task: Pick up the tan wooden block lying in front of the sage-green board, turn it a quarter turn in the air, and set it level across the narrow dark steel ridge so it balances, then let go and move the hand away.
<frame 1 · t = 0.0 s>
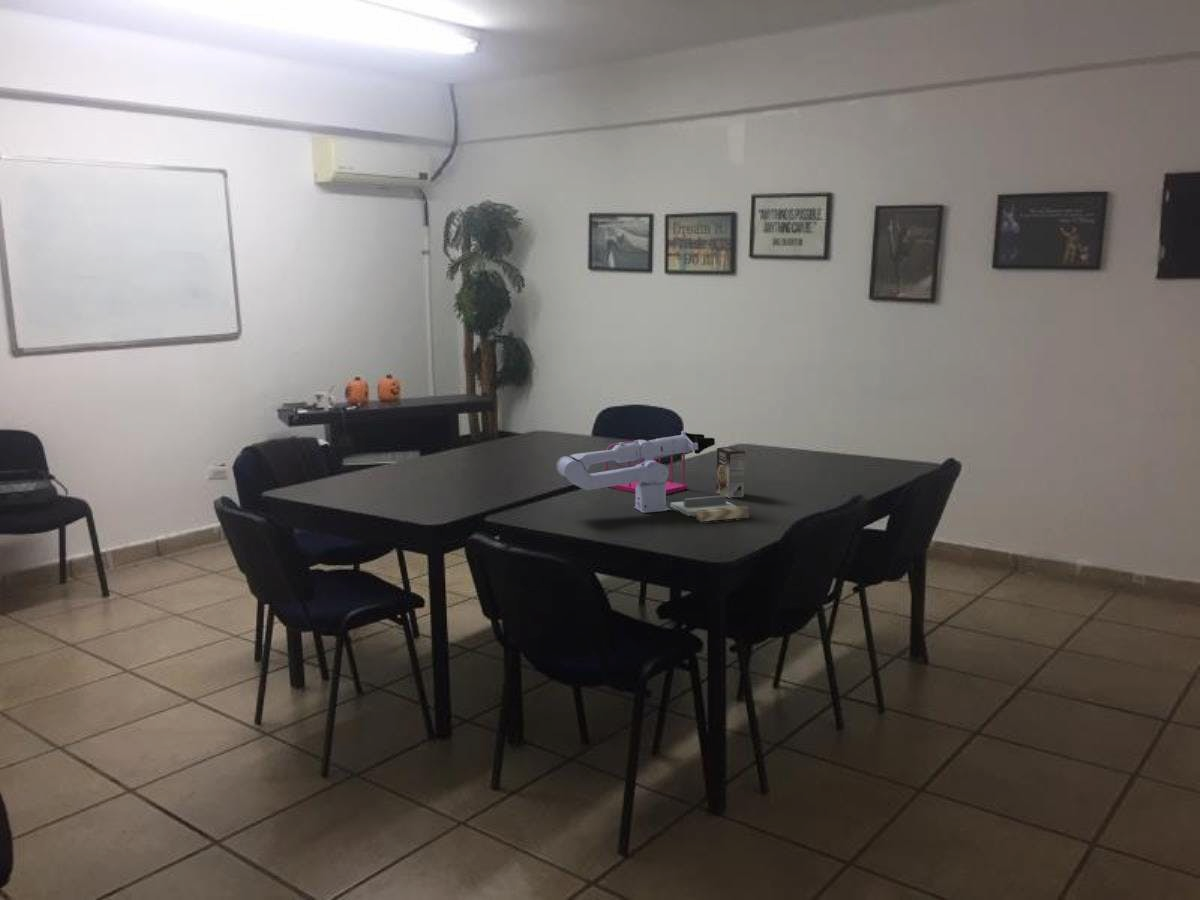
hand: (709, 439, 313), 22 cm above the table, tool horizontal, fingers open, 7 cm apart
ridge stand: (704, 509, 310), on the table
coffee box: (729, 495, 330), on the table
tan wooden block: (722, 520, 298), on the table
file sorter: (645, 489, 342), on the table
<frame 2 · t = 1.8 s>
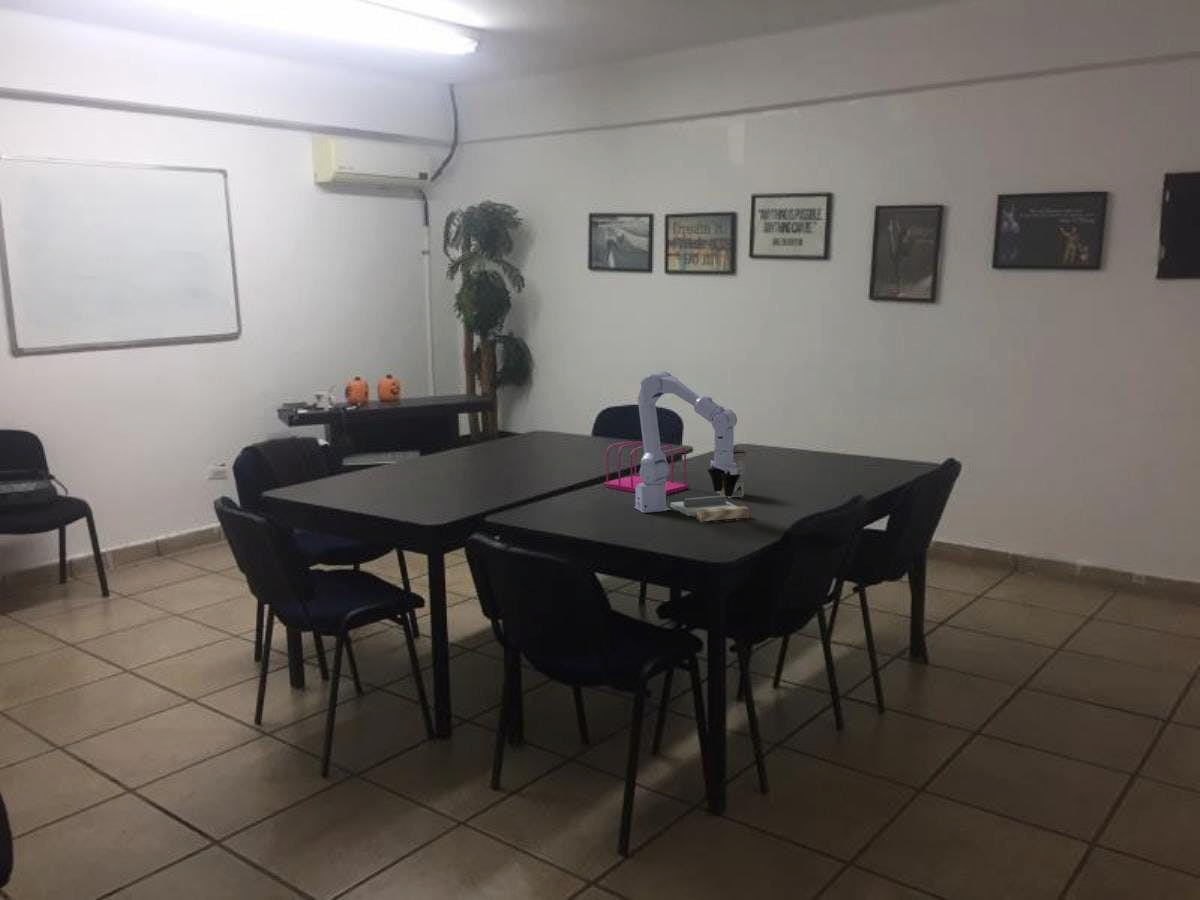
hand: (723, 493, 296), 8 cm above the table, tool pointing down, fingers open, 7 cm apart
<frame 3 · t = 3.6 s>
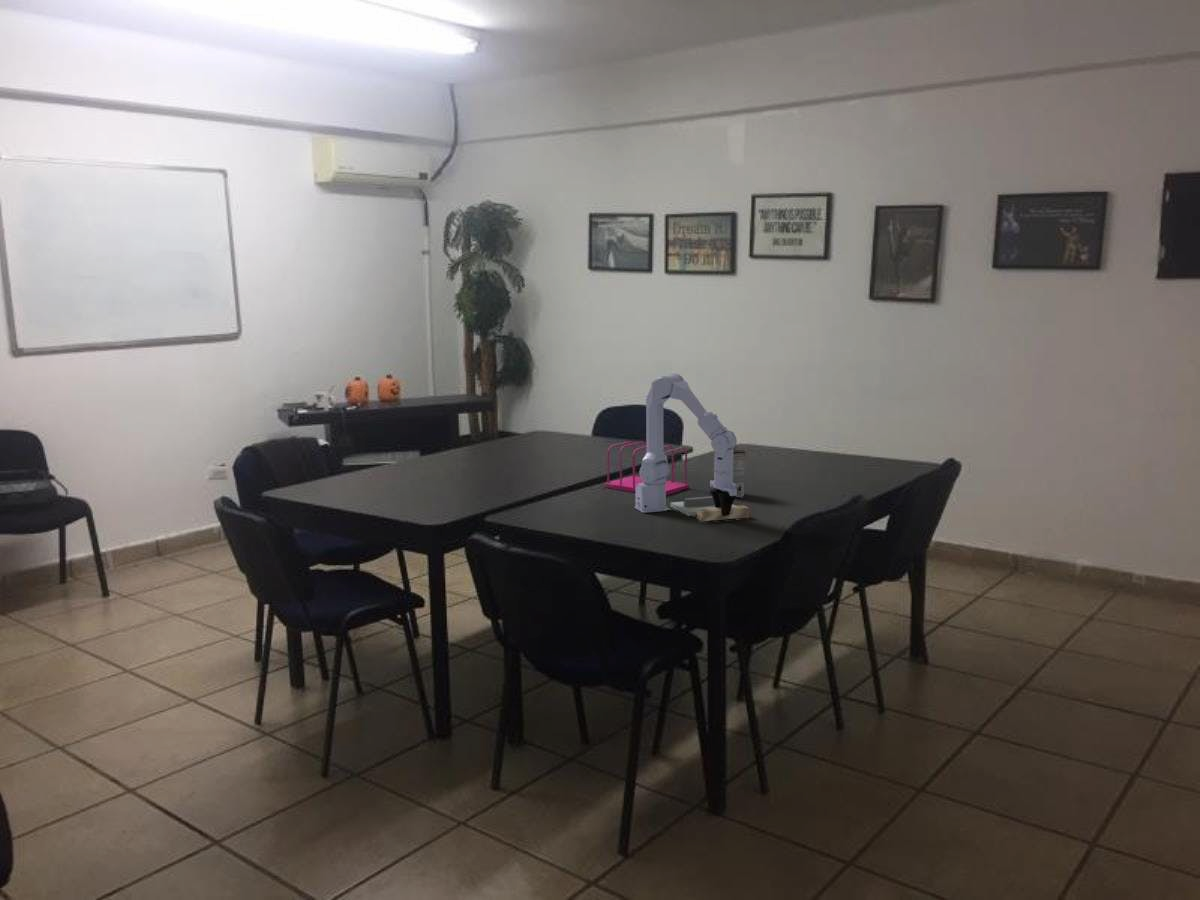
hand: (722, 513, 297), 2 cm above the table, tool pointing down, fingers closed on tan wooden block, 3 cm apart
tan wooden block: (722, 519, 298), on the table, touching gripper
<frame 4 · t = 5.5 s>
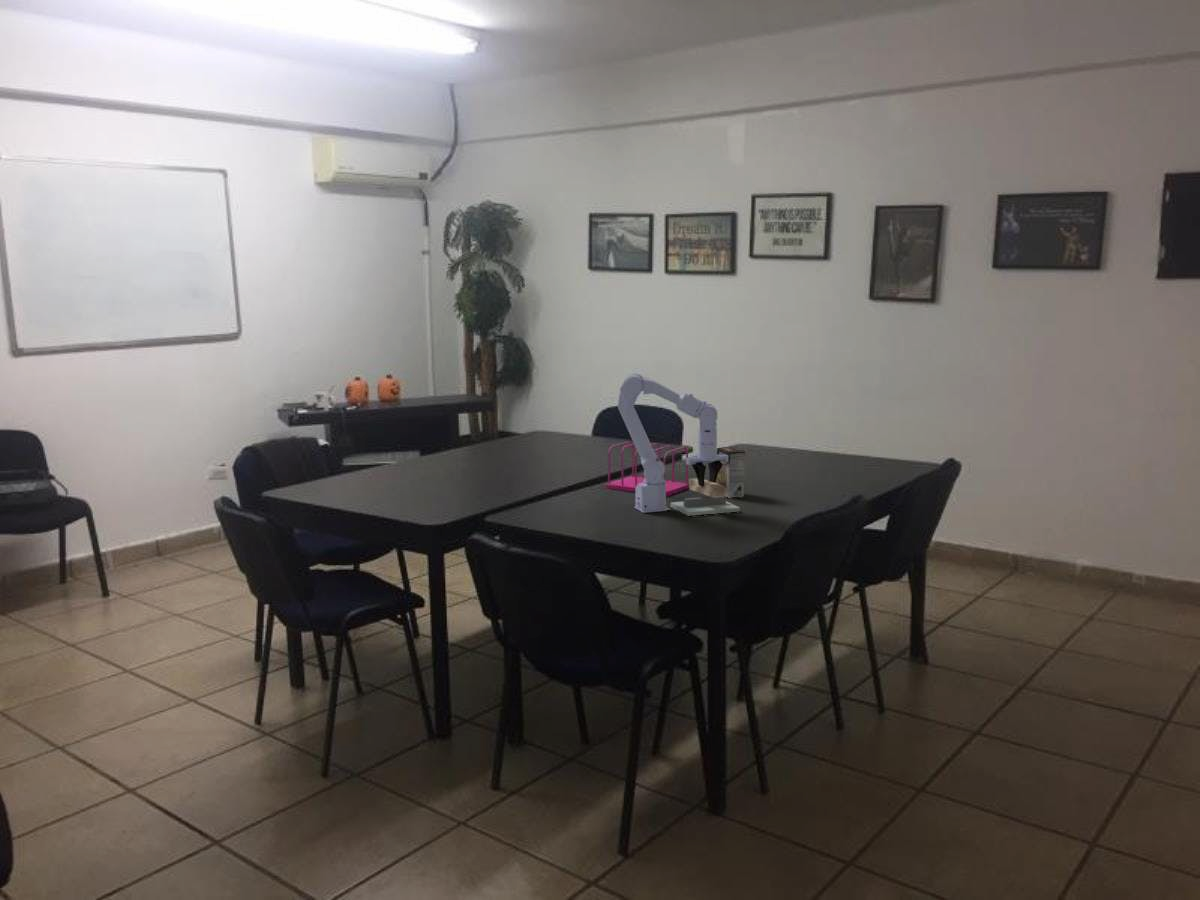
hand: (706, 485, 307), 8 cm above the table, tool pointing down, fingers closed on tan wooden block, 3 cm apart
tan wooden block: (706, 493, 308), point 6 cm above the table, touching gripper
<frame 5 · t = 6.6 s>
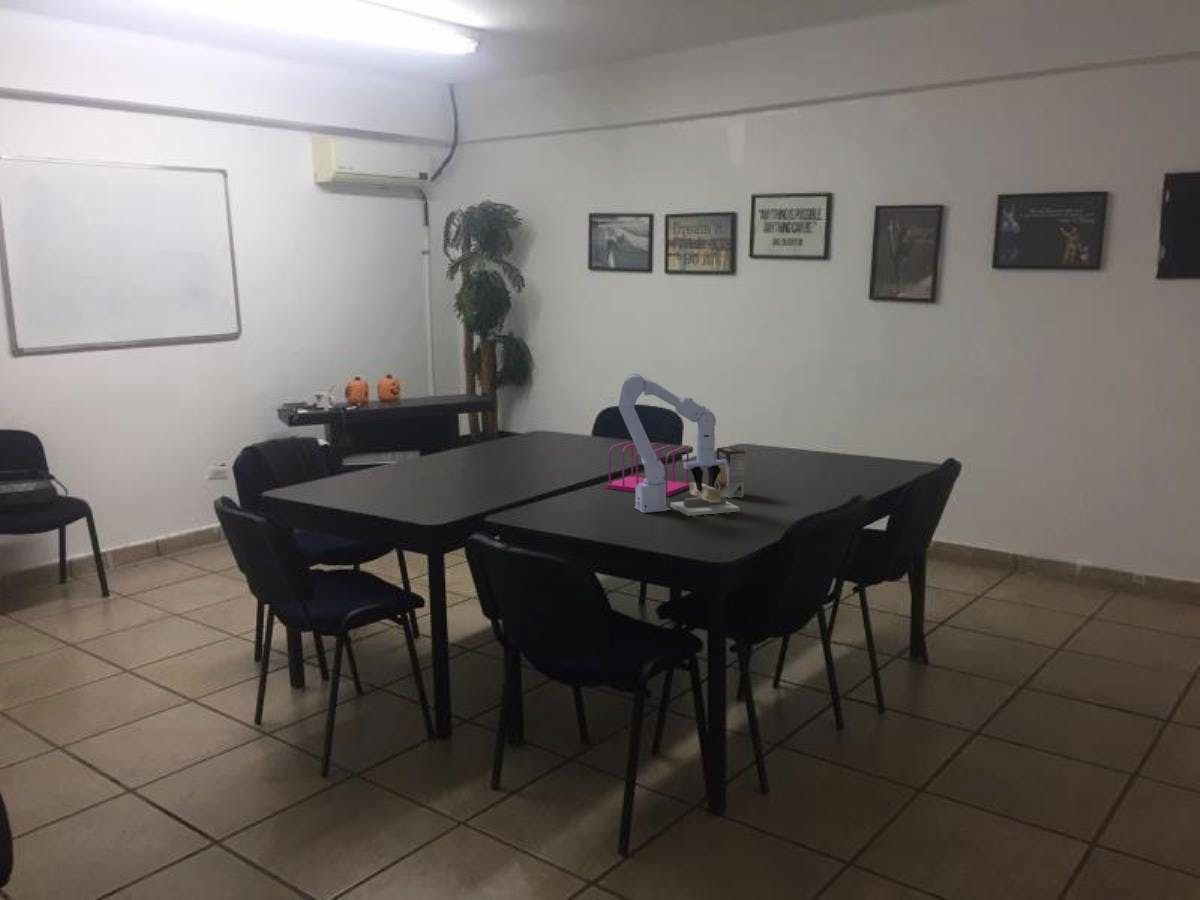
hand: (705, 489, 309), 7 cm above the table, tool pointing down, fingers closed on tan wooden block, 3 cm apart
tan wooden block: (704, 497, 309), point 4 cm above the table, touching gripper, ridge stand
when the fingers open (7 cm above the table, at t = 7.2 s): tan wooden block stays where it is, resting on ridge stand.
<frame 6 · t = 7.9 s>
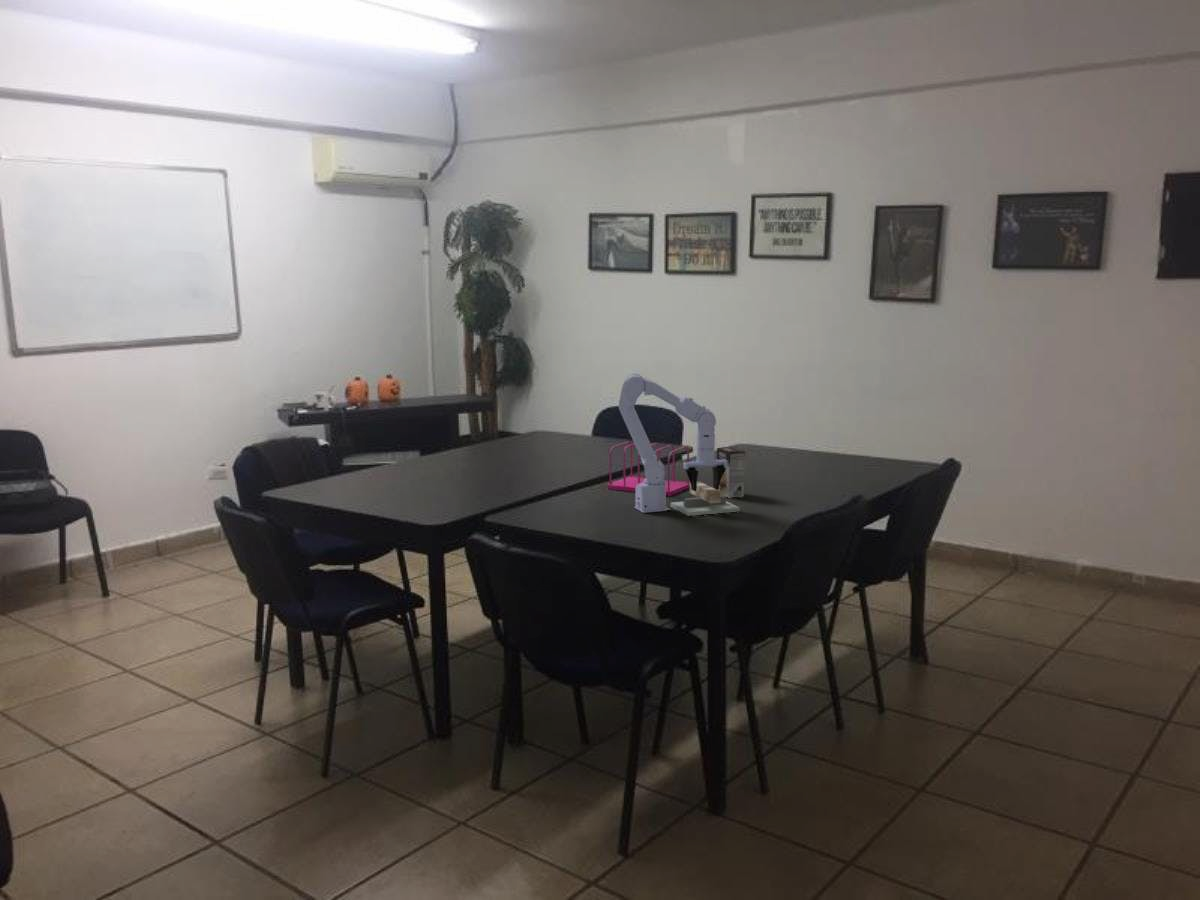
hand: (705, 489, 309), 7 cm above the table, tool pointing down, fingers open, 7 cm apart
tan wooden block: (704, 497, 309), point 4 cm above the table, touching ridge stand
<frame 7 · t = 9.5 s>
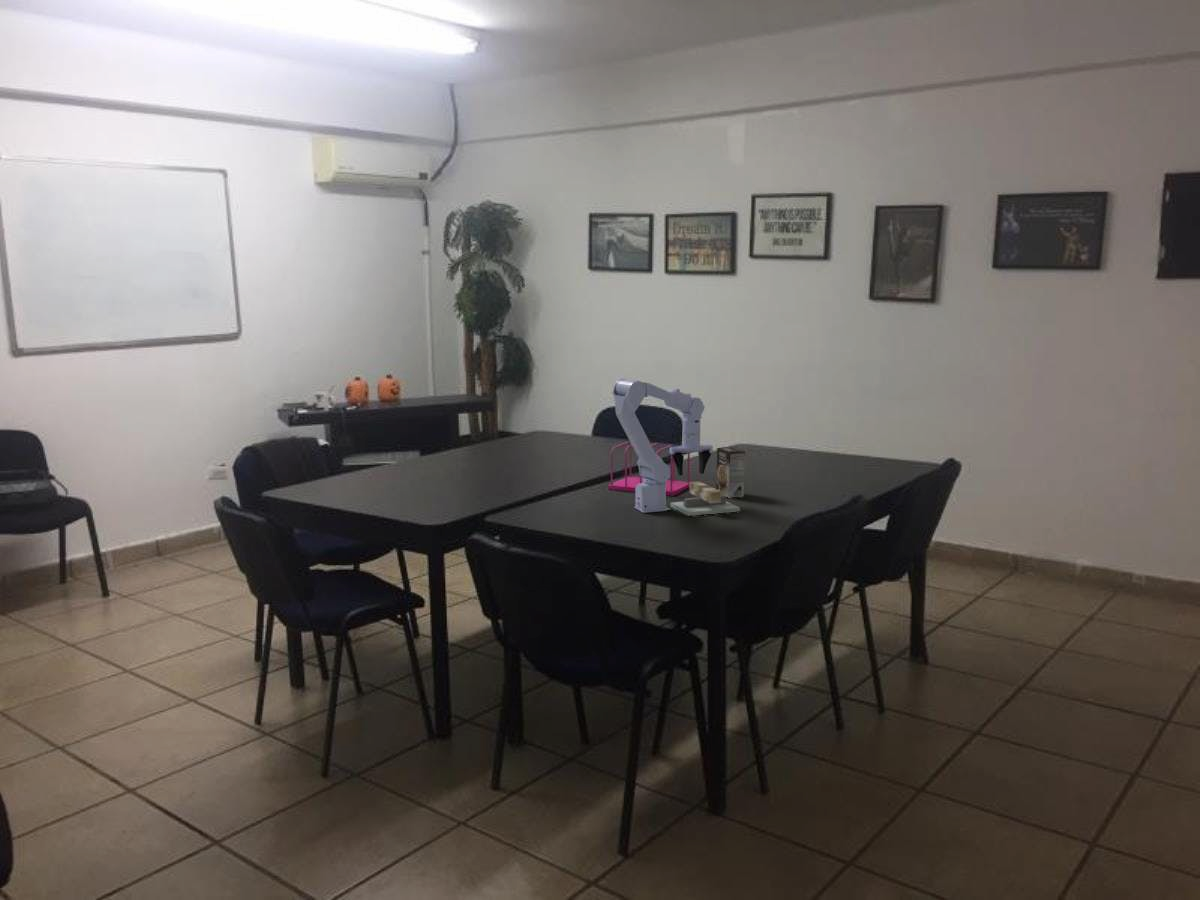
hand: (690, 474, 317), 10 cm above the table, tool pointing down, fingers open, 7 cm apart
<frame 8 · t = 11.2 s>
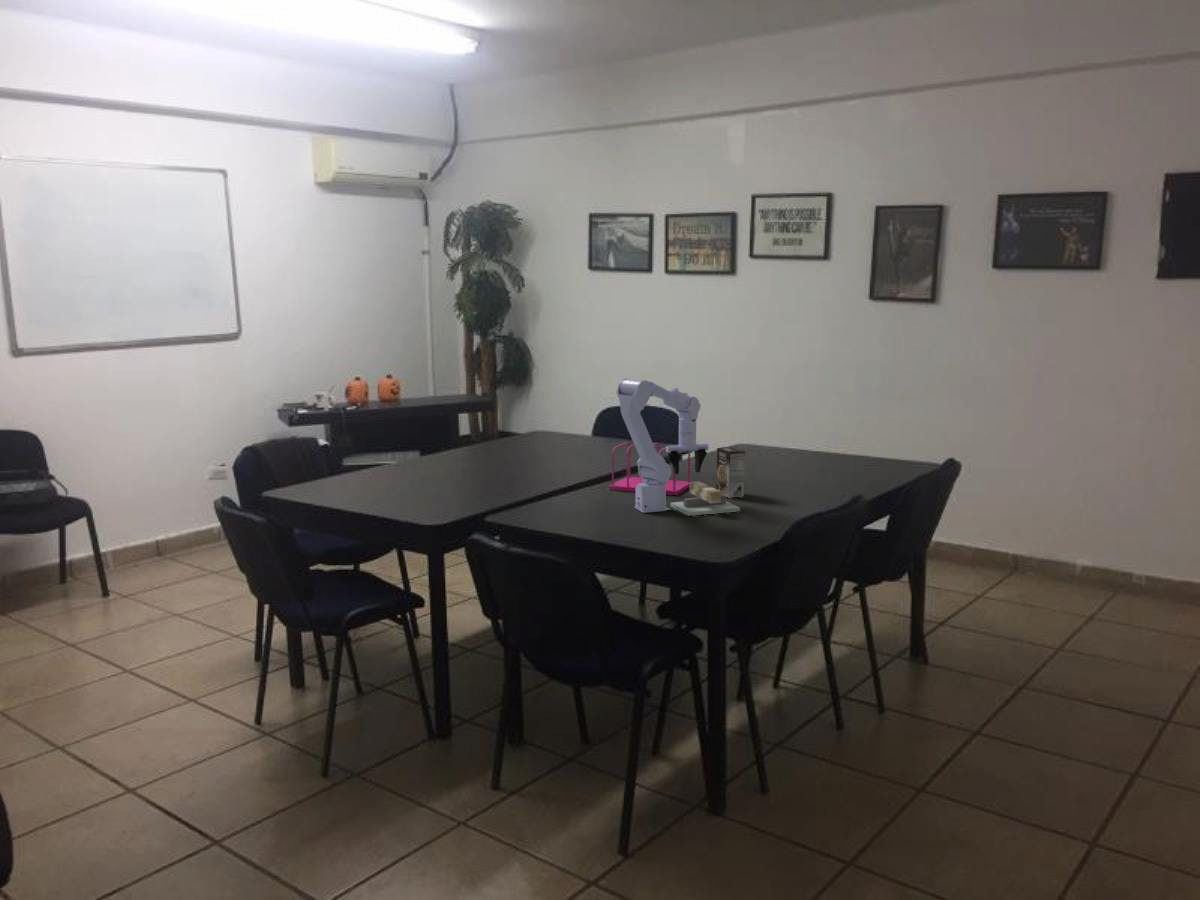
hand: (687, 472, 319), 10 cm above the table, tool pointing down, fingers open, 7 cm apart
at the end: tan wooden block 0.2 cm off-centre on the ridge stand, point 4.0 cm above the ridge stand's base; tan wooden block tilted 0°; the gripper is holding nothing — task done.
